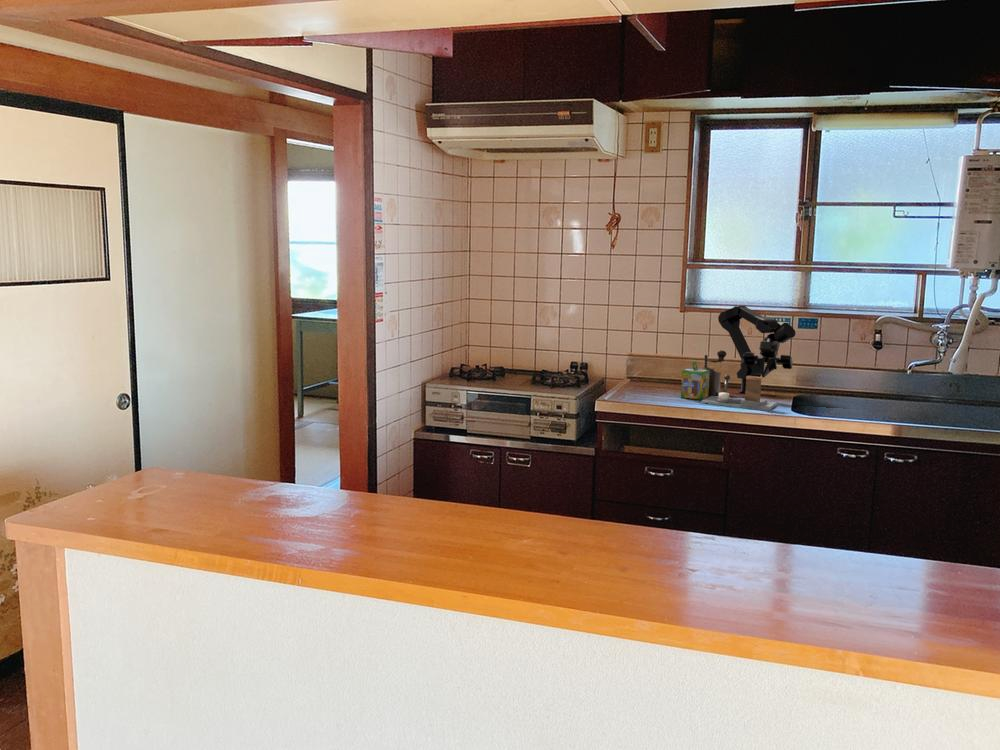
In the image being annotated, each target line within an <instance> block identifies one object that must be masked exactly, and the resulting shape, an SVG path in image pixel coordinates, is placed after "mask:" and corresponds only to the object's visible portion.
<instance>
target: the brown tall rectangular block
mask: <svg viewBox="0 0 1000 750" xmlns="http://www.w3.org/2000/svg"><path fill="white" fill-rule="evenodd" d="M762 379H763V377H762V376H761V377H754V376H747V377H746V391H745V393H744V399H745V400H746V401H755V402H759V403H760V401H761V391H762V389H761V388H762Z"/></svg>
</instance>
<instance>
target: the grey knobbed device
mask: <svg viewBox="0 0 1000 750" xmlns="http://www.w3.org/2000/svg"><path fill="white" fill-rule="evenodd" d="M716 355H717V356H718V358H717V360H712V359H711V360H710V359H708V356H709V355H708V354H705V355H704V359H703V360H704V367H701V368H699V369H703V370H710V375H709V395H708V396H714V395H716V396H719V393H721V378H722V377H721V376H722V371H715V370H714V369H715V368H714V367H713V368H711V367H708V363H713V364H714V363H716V364H717V363H722V362H725V357H726V356H727V352H726V351H725V350H717V352H716Z"/></svg>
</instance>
